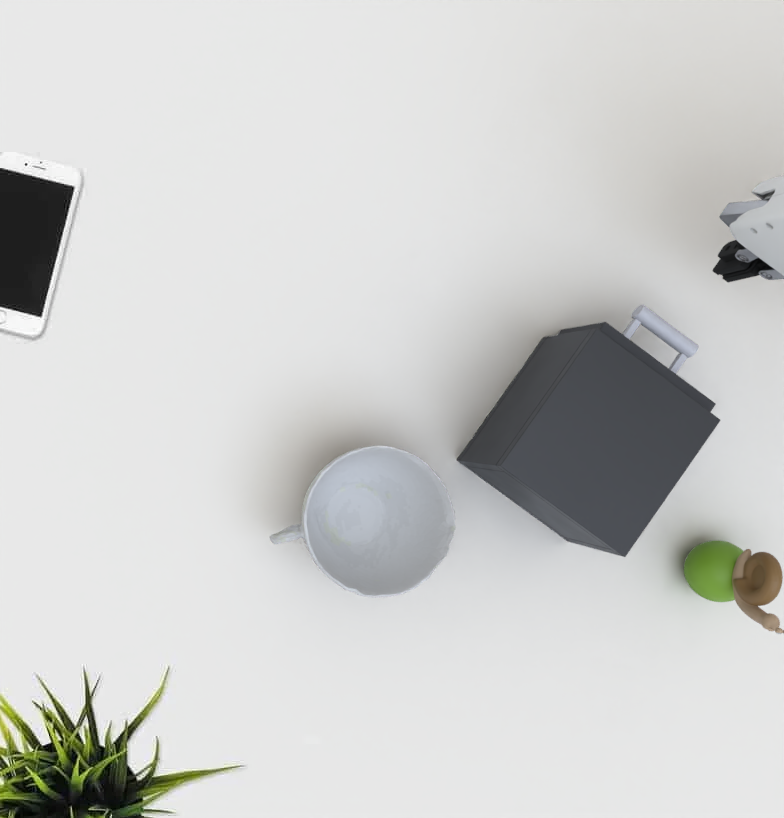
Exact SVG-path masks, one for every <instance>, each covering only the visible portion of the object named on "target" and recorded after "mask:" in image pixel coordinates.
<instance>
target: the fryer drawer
mask: <svg viewBox="0 0 784 818" xmlns="http://www.w3.org/2000/svg"><path fill="white" fill-rule="evenodd" d="M630 317H631V318H632V319H631V321H630V322H629V324H628V325H627V326H626V328H625V329H624V331H623V332H620V331H618V330H617V329H616V328H615V327H613V325H611V324H609V323H608V322H607V321H602V322H596V323H591V324H585V325H579V326H574V327H573V326H572V327H568V328H563V329H560V330H559V332H558V333H557V335H560V334H565V333H571V332H577V331H583V330H589V329H596V328H598V329H599V330H600V331H602V332H603V333H604V334H606V335H607V336H608V337H610V338H611V339H612V340H614V341H615V342H616V343H618V344H619V345H620V346H622V347H623V348H625V349H626V350H627V351H629V352H630V353H631V354H633V355H634V356H635V357H637V358H638V359H639V360H641V361H642V362H643V363H645V364H646V365H647V366H649V367H650V368H652V369H653V370H654V371H656V372H657V373H658V374H660V375H661V376H662V377H664V378H665V379H666V380H668V381H669V382H670V383H672V384H673V385H674V386H676V387H677V388H678V389H680V390H681V391H683V392H684V393H685V394H687V395H688V396H689V397H691V398H692V399H693V400H695V401H696V402H697V403H699V404H700V405H701V406H703V407H704V408H705V409H707V410H708V411H709V412H711V413H712V411H713V409H714V408H715V407H716V402H714V401H713V400H712V399H710V398H709V397H708V396H707V395H705V394H704V393H702V392H701V391H700V390H698V389H697V388H695V386H693V385H691V384H690V383H688V382H687V381H686V380H685V379H683V378H682V377H681V376H679V375H678V374H677V373H678V372H679V370H680V369H681V368H682V366H683V365H684V363H685V361H686V360H687V359H690V358H691V357H693V356H694V355H695V354H697V352H698V350H699V349H700V348H699V345H698V343H696V342H695V341H693V340H692V339H691V338H689V336H687V335H685V334H684V333H682V332H681V331H680V330H678V328H676V327H675V326H673V325H672V324H670V323H669V322H668V321H666V320H665V319H664V318H663V317H661V316H660V315H659V314H657V313H656V312H654V311H653V310H651V309H650V308H649V307H648V306H646V305H645V304H639V305H638V306H637V307H636V308H635V309H634V310H633V311H632V313H631V315H630ZM640 325H641V326H643V328H645V329H646V330H647V331H649V332H650V333H652V334H653V335H654V336H656V337H657V338H659V339H660V340H661V341H663V342H664V343H665V344H666V345H668V346H669V347H671V349H673V350H675V351H676V352H677V355H676V356H675V358H674V359H673V361H672V362H671V363H670V365H669V367H668V366H666V365H664V363H662V362H660V361H659V360H658V359H657V358H655V357H654V356H653V355H651V354H650V353H648V352H647V351H646V350H644V349H643V348H641V346H639V345H637V343H635V342H634V341H632V340H631V338H632V337H633V335H634V334H635V333H636V331H637V329H638V328H639V326H640Z"/></svg>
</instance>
